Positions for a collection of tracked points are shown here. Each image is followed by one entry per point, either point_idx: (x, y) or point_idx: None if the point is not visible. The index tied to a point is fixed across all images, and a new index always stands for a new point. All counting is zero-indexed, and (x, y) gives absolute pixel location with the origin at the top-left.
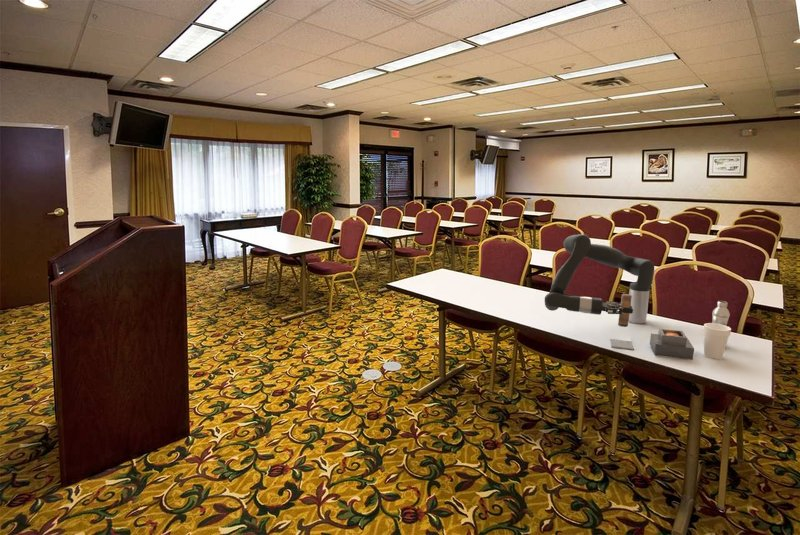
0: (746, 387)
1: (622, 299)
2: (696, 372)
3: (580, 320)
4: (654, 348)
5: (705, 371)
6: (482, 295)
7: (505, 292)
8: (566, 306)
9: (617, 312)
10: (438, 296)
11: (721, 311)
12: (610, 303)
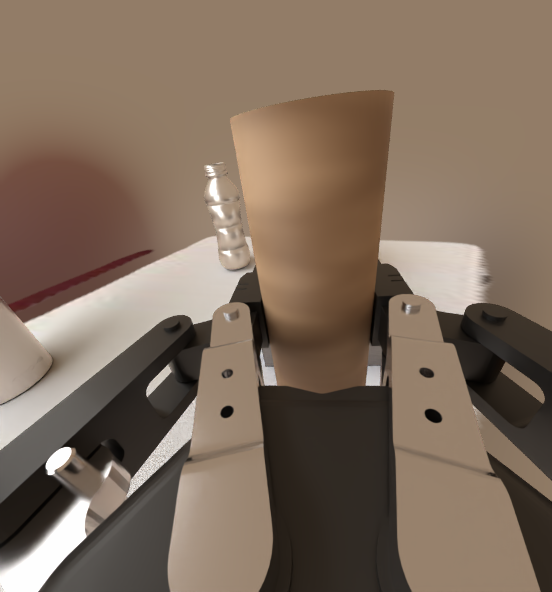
0: (470, 254)
1: (366, 190)
2: (461, 297)
3: None
4: (374, 350)
5: (434, 286)
6: None
7: None
8: None
9: (494, 400)
10: None
11: (232, 186)
12: (264, 456)
